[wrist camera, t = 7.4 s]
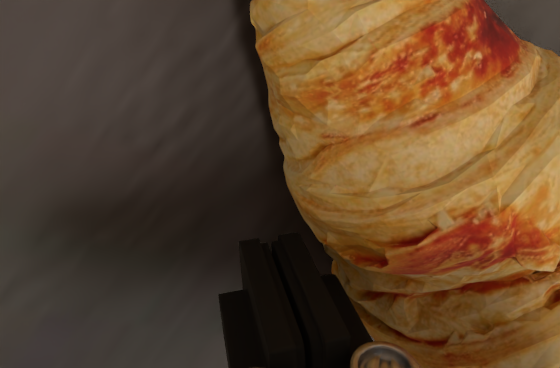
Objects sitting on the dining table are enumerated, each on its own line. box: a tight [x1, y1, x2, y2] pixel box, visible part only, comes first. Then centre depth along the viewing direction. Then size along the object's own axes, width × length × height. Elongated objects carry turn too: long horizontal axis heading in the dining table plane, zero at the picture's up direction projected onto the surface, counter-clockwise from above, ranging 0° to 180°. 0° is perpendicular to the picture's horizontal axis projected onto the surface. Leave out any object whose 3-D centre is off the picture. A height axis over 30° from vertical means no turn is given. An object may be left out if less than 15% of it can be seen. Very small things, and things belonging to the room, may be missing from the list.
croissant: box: [250, 0, 560, 368], centre depth 12 cm, size 21×10×8 cm
